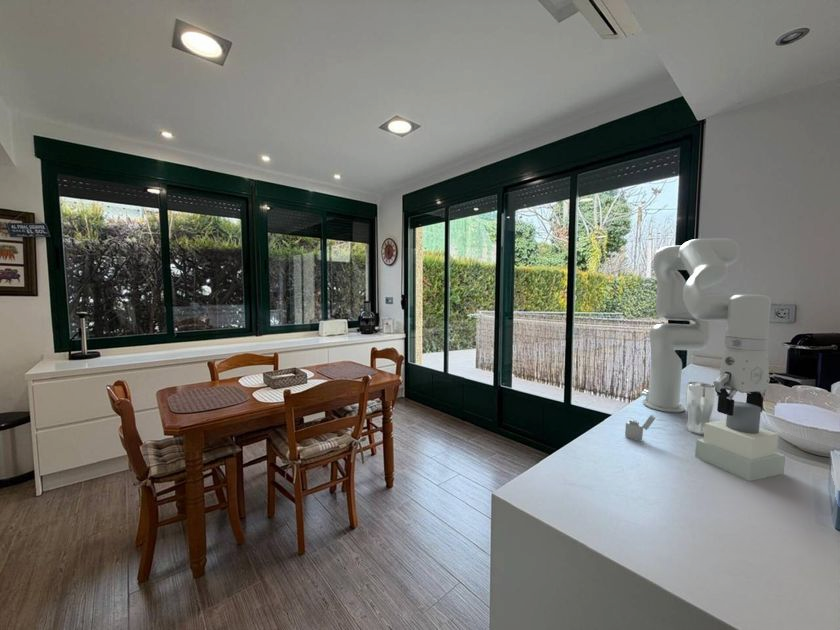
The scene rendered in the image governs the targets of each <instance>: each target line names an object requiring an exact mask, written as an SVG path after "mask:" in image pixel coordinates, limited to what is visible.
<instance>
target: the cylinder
mask: <svg viewBox="0 0 840 630" xmlns="http://www.w3.org/2000/svg"><path fill="white" fill-rule="evenodd" d="M761 414H762V412H761V408H760V407H759V406H756V405H753V404H749V403H746V402H743V401H737V400H734V411H733V415H732V416H729V415H726V418H725V419H726V426H727V427H728V428H730V429H733V430H736V431H739V432H744V433H751V434H757V433H759V428H760V424H761Z"/></svg>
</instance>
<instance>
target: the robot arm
mask: <svg viewBox="0 0 840 630" xmlns="http://www.w3.org/2000/svg"><path fill="white" fill-rule="evenodd" d="M739 255H740V247H739V244H738V243H737V242H736V241H735V240H733V239H732V238H725V237H721V238H720V237H719V238H717V237H716V238H712V237H711V238H695V239H690V240H688V241H685V242H684V243H683V244H682V245H670V246H669V245H667V246H663V247H660V248H658V249H657V250H656V252H655V254H654V256H653V262H652V264H653V271H654V275H655V278H656V299H655V300H656V301H655V302H656V303H655V313H656V316H657V317H658V318H659V319H661V320H666V321H686V322H687V321H688V322H689V324H686V323H683V324H682V323H657V324H655V325H653V326H652V327H651V328H650V330H649V342H650V367H649V368H650V370H649V384H648V385H649V387H648V390H647V389H643V391H641V393H640V395H641V396H644V397H645V399H644V400H643V405H644V406H646V407H647V408H650V409H653V410H655V411H656V410H657V411H660V412H665V413H666V412H667V413H682V412H684V411H685V406H684V404H683V405H682V404H681V403H680V401H681V389H682V387H681V386H682V375H683V374H682V371H683V361H682V359H681V358H680V356H679V355H678V354H677V352H676V351H703V350H704V349H706V348H707V347H708V344H709V339H710V327H711V322H726V326H725V327H726V329H725V340H724V352H723V354H722V359H721V364H720V369H719V377H717V378H716V379H713V385H714V386H715V393H716V396H717V408H716V409H717V412H718V413H720V414H724V415H725V416H727V415H729V416H732V415H733V411H734V401H735V399H733V398H734V397H735V395H736V394H737V392H739V393H742V394H743V393H744V394H745V393H746V401H745V403H749V404H753V405H756V406H759V407H760V408H761V413H762V412H763V408H764V397H765V396H766V391H767V390H768V388H769V383H770V381H771V378H770V363H769V353H768V341H769V332H770V331H769V330H770V319H771V309H772V308H771V307H772V300H771V297H769V296H768V295H764V294H750V293H742V292H741V293H739V292H737V293H735V292H731V293H729V292H705V291H704V292H703V291H702V290H704V289H707V288H709V287H712V286H715V285H717V284H719V283H721V282H722V281H723V280H724V279H725V278H727V276H728V273H729V270H728V266H732V265H733V264H734V263H735V262H736V261H737V260H738V258H739ZM679 271H687V273H688V275H689V278H688V279H687V280H686V279H685V278H684V276H683V275H682V274H681V272H679ZM728 391H729V392H728Z"/></svg>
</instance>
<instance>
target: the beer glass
mask: <svg viewBox="0 0 840 630" xmlns="http://www.w3.org/2000/svg"><path fill="white" fill-rule="evenodd" d="M685 393H686V395H685V403H686V410H687V422H686V425H685V430H686V431H688V432H689V433H692V434H695V435H699V436H704V428H705V423H709V422H711V418H712V414H713V412H714V408H715V402H716V391H715V386H714V384H711V383H706V382H700V381H688V382H687V387H686V392H685Z"/></svg>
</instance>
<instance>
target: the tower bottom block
mask: <svg viewBox="0 0 840 630" xmlns="http://www.w3.org/2000/svg"><path fill="white" fill-rule="evenodd" d="M703 441H704V437H703V438H698V439H696V441H695V451H694V452H695V453H694V456H695V457H696V458H698V459H700V460H702V461H704V462H706V463H709V464H711V465H713V466H715V467H718V468H720V469H722V470H724V471H727V472H729V473H731V474H733V475H735V476H738V477H739V478H741V479H744V480H747V481H749V482H750V481H754V480H755V481H756V480H760V479H764V478H770V477H774V476H778V475H784V473H785V467H786V466H785V463H786V455H785V454H782V453H780V452H778V451H777V454H773V455H769V456H765V457H761V458H757V459H753V460H750V459H747V458H744V457H742V456H739V455H737V454H734V453H731V452H729V451H726V450H724V449H721V448H719V447H716V446H713V445H711V444H708V443H706V442H703Z"/></svg>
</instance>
